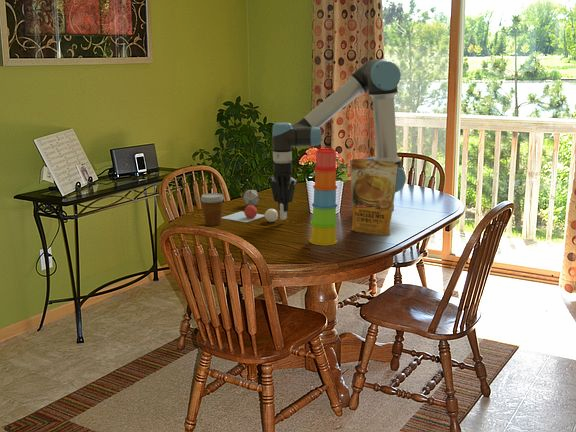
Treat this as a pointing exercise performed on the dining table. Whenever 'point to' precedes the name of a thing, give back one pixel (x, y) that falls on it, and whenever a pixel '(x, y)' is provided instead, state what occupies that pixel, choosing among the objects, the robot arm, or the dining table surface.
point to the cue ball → (271, 215)
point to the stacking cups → (324, 199)
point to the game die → (251, 197)
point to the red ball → (250, 211)
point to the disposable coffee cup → (212, 208)
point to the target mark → (241, 217)
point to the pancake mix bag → (372, 195)
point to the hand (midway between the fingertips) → (283, 218)
